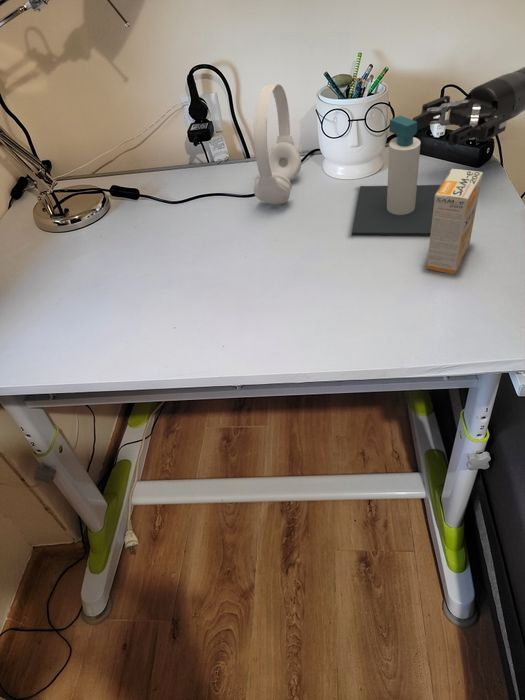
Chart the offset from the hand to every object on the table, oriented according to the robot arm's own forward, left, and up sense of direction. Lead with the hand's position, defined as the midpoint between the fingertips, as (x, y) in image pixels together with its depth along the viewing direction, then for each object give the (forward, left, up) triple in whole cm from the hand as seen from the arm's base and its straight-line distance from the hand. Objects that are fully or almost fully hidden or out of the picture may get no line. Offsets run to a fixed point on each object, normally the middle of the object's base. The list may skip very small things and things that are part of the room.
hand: (431, 132), depth 86 cm
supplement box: (-4, +18, -12) cm, 23 cm away
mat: (+4, +4, -12) cm, 14 cm away
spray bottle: (+4, +4, -12) cm, 13 cm away
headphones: (+28, -3, -12) cm, 31 cm away
